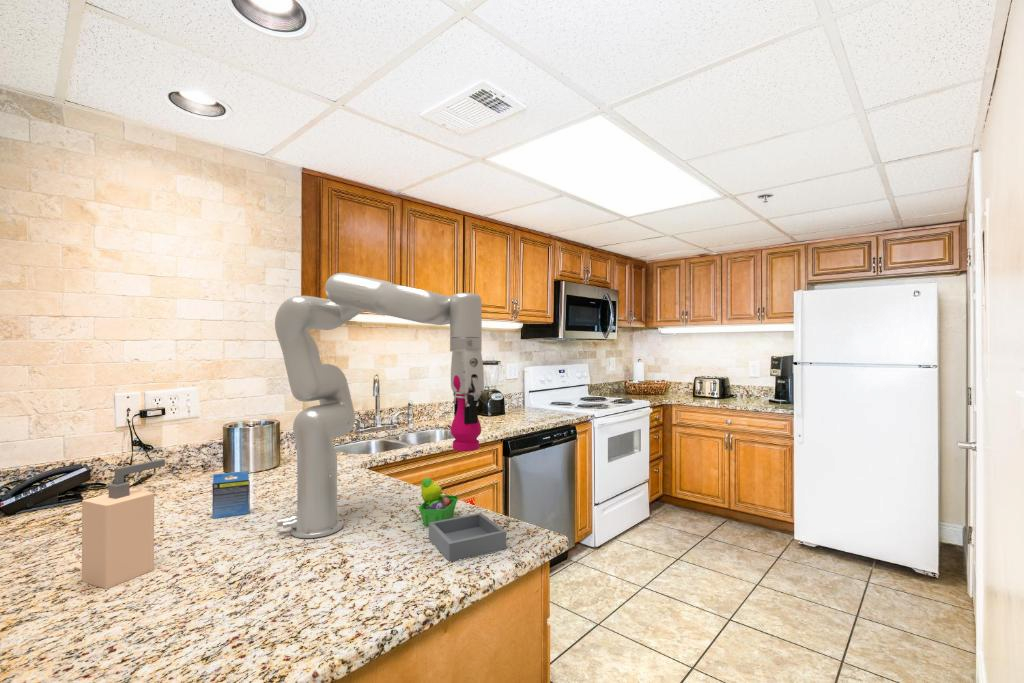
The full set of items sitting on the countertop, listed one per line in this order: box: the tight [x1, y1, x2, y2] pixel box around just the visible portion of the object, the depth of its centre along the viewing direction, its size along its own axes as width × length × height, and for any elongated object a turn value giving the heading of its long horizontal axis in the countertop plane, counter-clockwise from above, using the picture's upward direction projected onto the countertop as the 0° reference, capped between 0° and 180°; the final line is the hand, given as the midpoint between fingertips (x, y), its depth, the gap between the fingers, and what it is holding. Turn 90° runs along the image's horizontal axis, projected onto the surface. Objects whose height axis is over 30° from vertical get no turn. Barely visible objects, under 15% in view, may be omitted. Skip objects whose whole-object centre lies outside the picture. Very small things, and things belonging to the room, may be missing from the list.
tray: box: [428, 512, 507, 563], centre depth 110 cm, size 14×14×4 cm
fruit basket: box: [418, 477, 459, 527], centre depth 126 cm, size 11×9×11 cm
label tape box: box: [211, 470, 251, 520], centre depth 131 cm, size 9×4×12 cm, turn 115°
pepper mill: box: [450, 375, 482, 452], centre depth 111 cm, size 7×7×20 cm
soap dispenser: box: [81, 458, 166, 590], centre depth 98 cm, size 13×9×22 cm
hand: (465, 420), depth 111 cm, fingers closed on pepper mill, 5 cm apart
